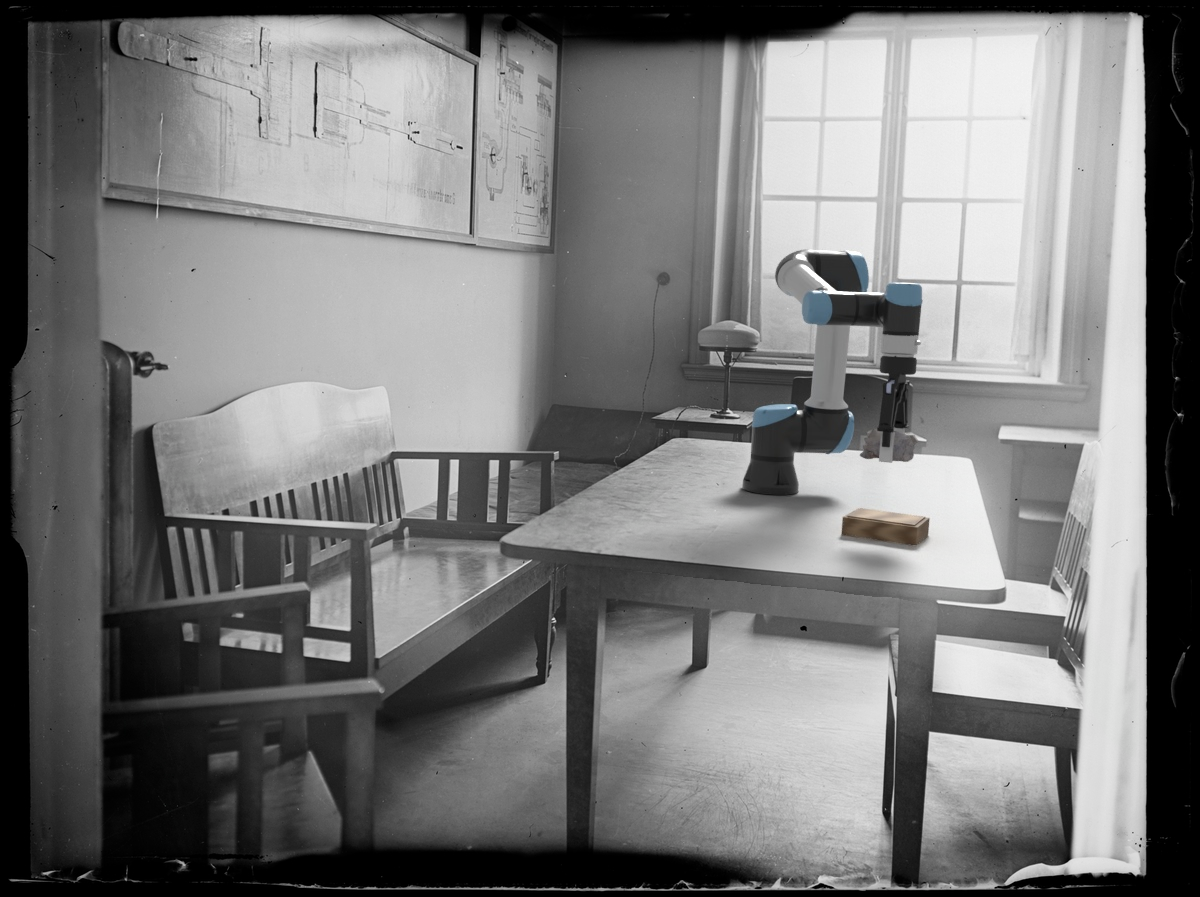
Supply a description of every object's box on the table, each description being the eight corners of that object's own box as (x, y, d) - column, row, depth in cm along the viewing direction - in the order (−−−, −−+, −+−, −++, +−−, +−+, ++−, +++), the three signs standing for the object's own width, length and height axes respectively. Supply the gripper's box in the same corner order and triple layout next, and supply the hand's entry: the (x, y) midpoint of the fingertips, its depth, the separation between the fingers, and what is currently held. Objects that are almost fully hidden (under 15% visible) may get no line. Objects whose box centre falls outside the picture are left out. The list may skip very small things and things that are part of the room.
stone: (910, 465, 203) (913, 433, 202) (855, 459, 210) (857, 428, 209) (921, 462, 210) (924, 430, 209) (868, 455, 216) (870, 425, 215)
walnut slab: (841, 534, 211) (842, 515, 210) (856, 525, 221) (858, 507, 220) (915, 545, 203) (917, 526, 202) (928, 535, 213) (929, 516, 212)
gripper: (905, 357, 195) (896, 467, 199) (927, 355, 213) (919, 455, 217) (868, 355, 199) (860, 463, 202) (893, 353, 217) (885, 452, 220)
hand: (890, 459), depth 210 cm, fingers closed on stone, 8 cm apart
